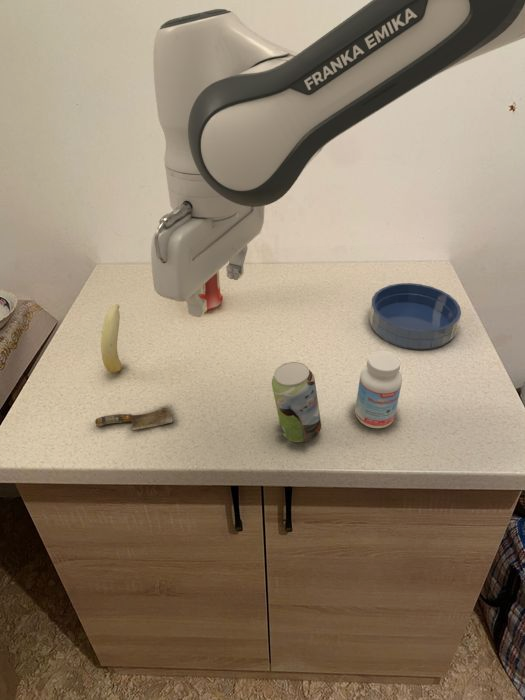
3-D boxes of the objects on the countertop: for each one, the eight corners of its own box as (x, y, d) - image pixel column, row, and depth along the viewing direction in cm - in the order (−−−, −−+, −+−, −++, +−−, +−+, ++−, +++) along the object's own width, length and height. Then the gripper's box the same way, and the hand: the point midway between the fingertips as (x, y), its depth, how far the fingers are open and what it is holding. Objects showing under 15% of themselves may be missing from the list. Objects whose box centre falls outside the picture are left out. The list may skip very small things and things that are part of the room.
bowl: (439, 300, 104) (444, 281, 101) (468, 349, 91) (474, 329, 88) (361, 303, 103) (364, 284, 101) (379, 352, 91) (383, 332, 88)
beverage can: (322, 447, 74) (327, 387, 66) (272, 447, 74) (271, 387, 66) (319, 416, 79) (323, 357, 71) (272, 416, 79) (271, 357, 71)
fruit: (95, 380, 84) (110, 384, 83) (98, 312, 79) (114, 316, 79) (111, 366, 89) (125, 370, 89) (115, 302, 84) (129, 306, 84)
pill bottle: (365, 433, 76) (374, 378, 69) (348, 406, 80) (355, 351, 73) (401, 425, 77) (414, 369, 70) (383, 398, 82) (393, 343, 75)
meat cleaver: (170, 433, 77) (176, 410, 81) (170, 427, 76) (175, 405, 80) (93, 430, 77) (103, 408, 81) (92, 425, 76) (101, 402, 80)
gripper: (180, 230, 47) (195, 346, 56) (273, 163, 61) (273, 263, 70) (126, 218, 49) (148, 332, 58) (227, 156, 64) (233, 255, 72)
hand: (217, 294), depth 64 cm, fingers open, 8 cm apart
